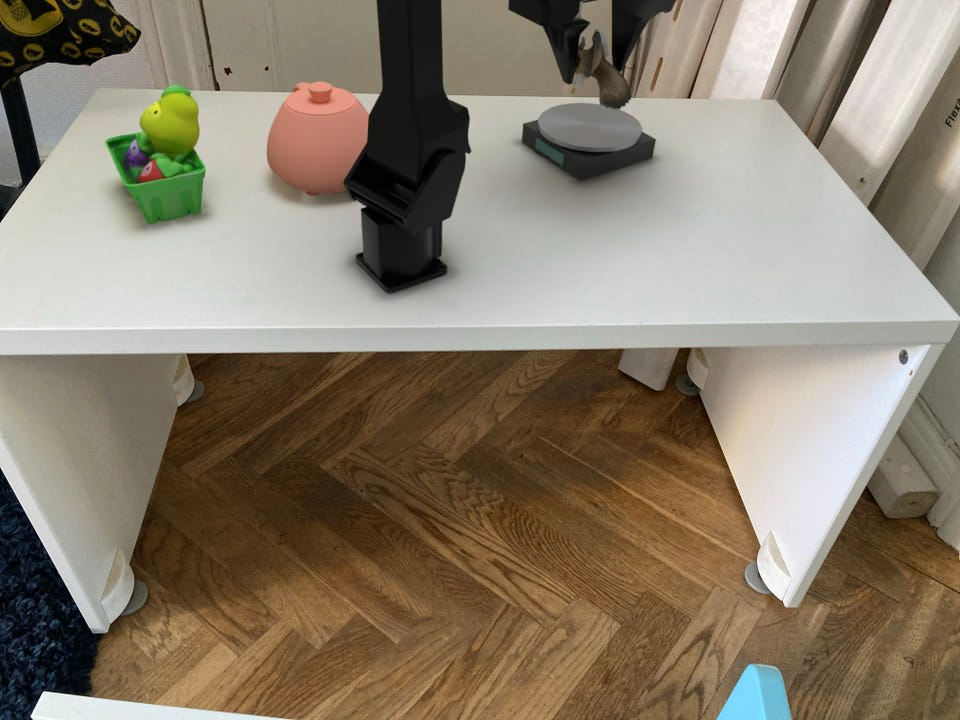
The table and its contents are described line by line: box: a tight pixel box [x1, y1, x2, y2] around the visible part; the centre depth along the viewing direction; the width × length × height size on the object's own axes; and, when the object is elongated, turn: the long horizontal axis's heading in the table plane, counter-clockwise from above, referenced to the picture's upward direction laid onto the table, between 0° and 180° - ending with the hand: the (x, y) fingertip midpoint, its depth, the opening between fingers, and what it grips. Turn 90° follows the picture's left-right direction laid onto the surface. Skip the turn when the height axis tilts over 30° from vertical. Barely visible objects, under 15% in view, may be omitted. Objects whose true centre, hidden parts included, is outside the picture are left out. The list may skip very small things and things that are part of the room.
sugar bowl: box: [266, 81, 370, 197], centre depth 87 cm, size 12×14×10 cm
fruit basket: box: [104, 84, 207, 225], centre depth 81 cm, size 11×9×11 cm
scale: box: [521, 119, 657, 181], centre depth 96 cm, size 11×11×2 cm
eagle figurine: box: [570, 28, 632, 110], centre depth 83 cm, size 8×7×9 cm
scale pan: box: [537, 102, 643, 152], centre depth 95 cm, size 12×12×1 cm
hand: (592, 76), depth 84 cm, fingers closed on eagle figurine, 6 cm apart
